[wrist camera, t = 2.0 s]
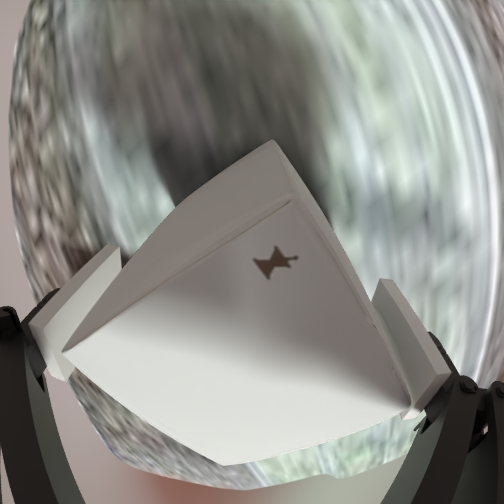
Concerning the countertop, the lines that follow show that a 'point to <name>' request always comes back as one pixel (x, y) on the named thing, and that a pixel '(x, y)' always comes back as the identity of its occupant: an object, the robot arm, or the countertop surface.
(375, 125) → the countertop surface
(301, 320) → the supplement box
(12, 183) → the countertop surface
